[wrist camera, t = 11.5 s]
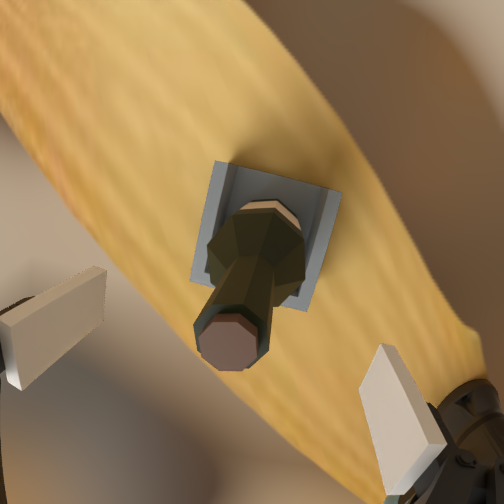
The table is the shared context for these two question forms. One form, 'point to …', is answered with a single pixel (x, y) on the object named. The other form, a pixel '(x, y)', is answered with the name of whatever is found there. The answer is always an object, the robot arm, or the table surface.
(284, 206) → the wine bottle
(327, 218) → the bottle stand
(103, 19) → the table surface
